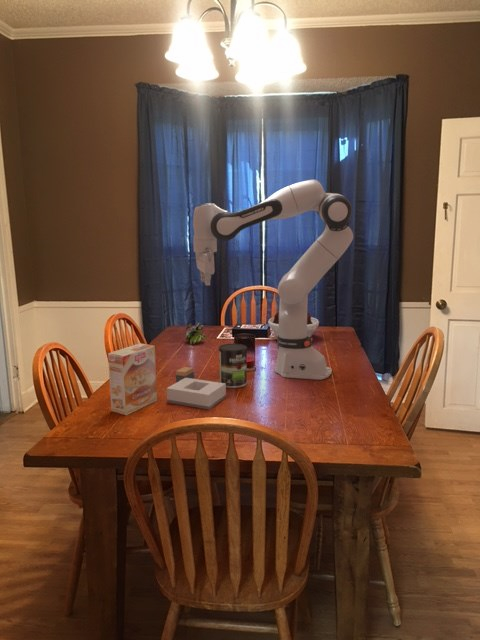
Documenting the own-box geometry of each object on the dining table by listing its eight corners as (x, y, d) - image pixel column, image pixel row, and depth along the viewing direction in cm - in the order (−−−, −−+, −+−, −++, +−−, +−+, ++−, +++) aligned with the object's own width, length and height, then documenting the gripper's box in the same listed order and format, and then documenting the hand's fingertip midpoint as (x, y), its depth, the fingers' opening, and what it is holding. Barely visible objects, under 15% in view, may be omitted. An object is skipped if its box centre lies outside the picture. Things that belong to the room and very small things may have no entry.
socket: (225, 397, 174) (225, 383, 173) (209, 409, 164) (208, 394, 162) (185, 391, 181) (185, 377, 180) (167, 402, 170) (166, 388, 169)
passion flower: (190, 352, 252) (189, 329, 257) (210, 348, 249) (210, 326, 254) (181, 344, 242) (181, 321, 247) (203, 340, 239) (202, 317, 244)
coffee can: (252, 385, 186) (251, 348, 183) (226, 390, 181) (226, 352, 178) (239, 377, 195) (238, 341, 192) (214, 381, 190) (214, 345, 187)
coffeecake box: (126, 415, 159) (122, 356, 155) (110, 411, 163) (106, 353, 159) (158, 400, 172) (155, 345, 168) (142, 397, 176) (139, 342, 171)
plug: (194, 386, 186) (193, 367, 185) (185, 391, 181) (185, 372, 179) (185, 384, 188) (184, 366, 186) (176, 389, 183) (175, 371, 181)
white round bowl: (322, 345, 240) (322, 314, 237) (269, 345, 241) (269, 314, 237) (315, 333, 265) (315, 304, 261) (267, 333, 265) (267, 305, 262)
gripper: (218, 249, 183) (218, 287, 185) (208, 245, 202) (209, 279, 205) (201, 249, 181) (201, 287, 184) (193, 245, 201) (193, 280, 204)
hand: (205, 283), depth 195 cm, fingers open, 8 cm apart
